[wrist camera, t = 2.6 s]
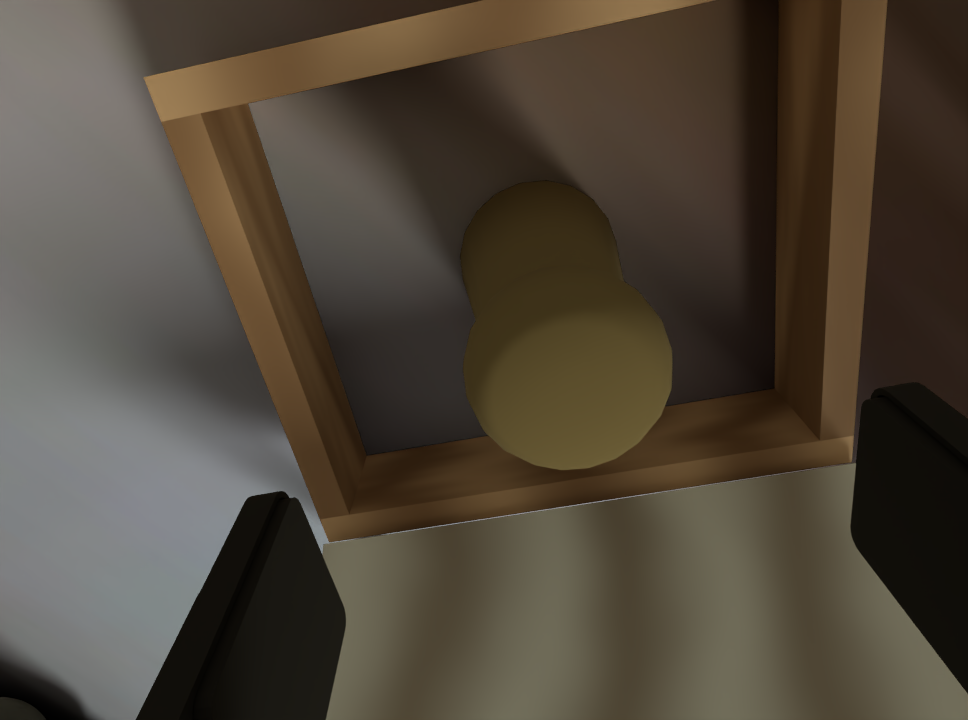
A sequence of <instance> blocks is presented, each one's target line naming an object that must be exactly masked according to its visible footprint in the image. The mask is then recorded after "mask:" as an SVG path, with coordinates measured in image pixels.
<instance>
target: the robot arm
mask: <svg viewBox="0 0 968 720" xmlns="http://www.w3.org/2000/svg"><path fill="white" fill-rule="evenodd" d="M850 530H851V536H852V539H853V542H854V544H855V546H856V548H857V549H858V551H859V552H860V553H861V555H862V556H863V557H864V559H865V560H866V561H867V563H868V564H869V565H870V567H871V568H872V569H873V571H874V572H875V573H876V574H877V576H878V577H879V578H880V580H881V581H882V582H883V584H884V585H885V586H886V588H887V589H888V590H889V591H890V593H891V594H892V595H893V597H894V598H895V599H896V601H897V602H898V603H899V605H900V606H901V607H902V609H903V610H904V611H905V612H906V614H907V615H908V616H909V618H910V619H911V620H912V622H913V623H914V624H915V626H916V627H917V628H918V629H919V631H920V632H921V633H922V635H923V636H924V637H925V639H926V640H927V641H928V643H929V644H930V645H931V647H932V648H933V649H934V650H935V652H936V653H937V654H938V656H939V657H940V658H941V660H942V661H943V662H944V664H945V665H946V666H947V667H948V669H949V670H950V671H951V673H952V674H953V675H954V677H955V678H956V679H957V681H958V682H959V683H960V685H961V686H962V687H963V688H964V690H965V691H966V692H967V694H968V419H967V418H966V417H964V416H963V415H962V414H960V413H959V412H958V411H956V410H955V409H954V408H952V407H951V406H950V405H948V404H947V403H946V402H945V401H943V400H942V399H941V398H939V397H938V396H937V395H935V394H934V393H933V392H931V391H930V390H929V389H927V388H926V387H925V386H923V385H921V384H919V383H914V382H912V383H907V384H901V385H895V386H889V387H883V388H878V389H876V390H874V392H873V393H872V395H871V399H868V400H865V401H864V402H863V404H862V407H861V416H860V427H859V438H858V448H857V459H856V470H855V481H854V491H853V502H852V513H851V524H850ZM345 628H346V614H345V609H344V605H343V603H342V601H341V598H340V596H339V593H338V591H337V589H336V586H335V584H334V582H333V579H332V577H331V575H330V572H329V570H328V567H327V565H326V563H325V560H324V558H323V556H322V553H321V551H320V548H319V546H318V544H317V541H316V539H315V537H314V534H313V532H312V529H311V527H310V525H309V522H308V520H307V518H306V515H305V513H304V511H303V508H302V506H301V504H300V502H299V500H298V499H297V498H289V496H288V495H287V494H286V493H285V492H283V491H279V492H273V493H267V494H261V495H255V496H251V497H249V498H247V500H246V501H245V503H244V505H243V507H242V509H241V511H240V513H239V515H238V517H237V519H236V521H235V523H234V525H233V527H232V529H231V531H230V533H229V535H228V537H227V539H226V541H225V543H224V545H223V547H222V549H221V551H220V553H219V555H218V557H217V559H216V561H215V563H214V565H213V567H212V569H211V571H210V573H209V575H208V577H207V579H206V581H205V583H204V585H203V587H202V589H201V591H200V593H199V594H198V596H197V598H196V600H195V602H194V604H193V606H192V608H191V610H190V612H189V614H188V616H187V618H186V620H185V622H184V624H183V626H182V628H181V630H180V632H179V634H178V636H177V638H176V640H175V642H174V644H173V646H172V648H171V650H170V652H169V654H168V656H167V658H166V660H165V662H164V664H163V666H162V668H161V670H160V672H159V674H158V676H157V678H156V680H155V682H154V684H153V686H152V688H151V690H150V692H149V694H148V696H147V698H146V700H145V702H144V704H143V706H142V708H141V710H140V712H139V714H138V716H137V718H136V720H326V717H327V712H328V708H329V703H330V698H331V694H332V689H333V684H334V680H335V675H336V671H337V666H338V661H339V657H340V652H341V647H342V643H343V638H344V634H345Z"/></svg>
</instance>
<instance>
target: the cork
mask: <svg viewBox="0 0 968 720" xmlns="http://www.w3.org/2000/svg"><path fill="white" fill-rule="evenodd" d="M460 260H461V268H462V277H463V282H464V285H465V288H466V291H467V294H468V297H469V301H470V304H471V307H472V310H473V313H474V317H475V320H476V321H475V323H474V325H473V326H472V328H471V329H470V334H469V338H468V342H467V347H466V351H465V356H464V362H463V373H464V381H465V389H466V396H467V399H468V401H469V403H470V405H471V407H472V409H473V411H474V413H475V415H476V417H477V419H478V421H479V423H480V425H481V427H482V429H483V430H484V432H485V433H486V434H487V435H488V436H490V437H491V438H492V439H493V440H494V441H495V442H496V443H497V444H498V445H499V446H500V447H501V448H502V449H503V450H505V451H507V452H509V453H511V454H513V455H515V456H517V457H519V458H521V459H523V460H525V461H527V462H529V463H531V464H533V465H536V466H541V467H547V468H552V469H558V470H571V469H584V468H591V467H594V466H597V465H600V464H602V463H605V462H608V461H611V460H614V459H616V458H618V457H619V456H621V455H622V454H624V453H625V452H627V451H628V450H629V449H631V448H632V447H634V446H635V445H637V444H638V443H639V442H640V441H641V440H642V438H643V437H644V436H645V435H646V434H647V432H648V431H649V430H650V429H651V428H652V426H653V425H654V424H655V423H656V421H657V420H658V419H659V418H660V417H661V414H662V412H663V409H664V407H665V404H666V402H667V399H668V397H669V394H670V392H671V389H672V363H673V360H672V349H671V346H670V343H669V340H668V337H667V334H666V331H665V328H664V325H663V322H662V320H661V319H660V318H659V316H658V315H657V313H656V312H655V311H654V310H653V308H652V307H651V306H650V305H649V304H648V302H647V301H646V300H645V299H644V298H643V296H642V295H641V294H640V293H639V292H638V290H637V289H635V288H634V287H632V286H630V285H628V284H627V283H625V282H624V280H623V275H622V270H621V265H620V260H619V255H618V250H617V245H616V240H615V237H614V235H613V232H612V229H611V226H610V223H609V220H608V218H607V217H606V215H605V214H604V213H603V212H602V211H601V209H600V208H599V207H598V206H597V204H596V203H595V202H594V201H593V199H591V198H590V197H588V196H586V195H585V194H583V193H582V192H580V191H578V190H577V189H575V188H573V187H572V186H569V185H564V184H560V183H555V182H551V181H547V180H545V181H535V182H525V183H519V184H517V185H515V186H512V187H510V188H508V189H506V190H503V191H501V192H499V193H497V194H495V195H494V196H493V197H492V198H491V199H490V200H489V201H488V202H487V203H485V204H484V205H483V206H482V207H481V208H480V209H479V210H478V211H477V212H476V214H475V216H474V217H473V219H472V221H471V223H470V224H469V226H468V228H467V230H466V231H465V234H464V239H463V244H462V249H461V254H460Z"/></svg>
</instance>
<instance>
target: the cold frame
mask: <svg viewBox="0 0 968 720" xmlns="http://www.w3.org/2000/svg"><path fill="white" fill-rule="evenodd" d="M711 1H716V0H482V1H477V2H473V3H469V4H464V5H460V6H455V7H451V8H447V9H442V10H438V11H433V12H429V13H425V14H420V15H416V16H411V17H407V18H403V19H398V20H394V21H389V22H385V23H381V24H376V25H372V26H367V27H363V28H359V29H354V30H350V31H345V32H341V33H337V34H332V35H328V36H323V37H319V38H315V39H310V40H306V41H301V42H297V43H293V44H288V45H284V46H279V47H275V48H271V49H266V50H262V51H257V52H253V53H249V54H244V55H240V56H235V57H231V58H227V59H222V60H218V61H213V62H209V63H205V64H200V65H196V66H191V67H187V68H183V69H178V70H174V71H169V72H165V73H161V74H156V75H152V76H147V77H144V80H145V82H146V85H147V87H148V90H149V92H150V95H151V97H152V100H153V102H154V105H155V107H156V110H157V112H158V115H159V117H160V120H161V122H162V125H163V127H164V130H165V132H166V135H167V137H168V140H169V142H170V145H171V147H172V150H173V152H174V155H175V157H176V160H177V162H178V165H179V167H180V170H181V172H182V175H183V177H184V180H185V182H186V185H187V187H188V190H189V192H190V195H191V197H192V200H193V202H194V205H195V207H196V210H197V213H198V215H199V218H200V220H201V223H202V225H203V228H204V230H205V233H206V235H207V238H208V240H209V243H210V245H211V248H212V250H213V253H214V255H215V258H216V260H217V263H218V265H219V268H220V270H221V273H222V275H223V278H224V280H225V283H226V285H227V288H228V290H229V293H230V295H231V298H232V300H233V303H234V305H235V308H236V310H237V313H238V315H239V318H240V320H241V323H242V325H243V328H244V330H245V333H246V335H247V338H248V340H249V343H250V345H251V348H252V350H253V353H254V355H255V358H256V360H257V363H258V365H259V368H260V370H261V373H262V375H263V378H264V380H265V383H266V385H267V388H268V390H269V393H270V395H271V398H272V400H273V403H274V405H275V408H276V410H277V413H278V415H279V418H280V420H281V423H282V425H283V428H284V430H285V433H286V435H287V438H288V440H289V443H290V445H291V448H292V450H293V453H294V455H295V458H296V460H297V463H298V465H299V468H300V470H301V473H302V475H303V478H304V480H305V483H306V485H307V488H308V490H309V493H310V495H311V498H312V500H313V503H314V506H315V508H316V511H317V513H318V516H319V518H320V521H321V523H322V526H323V528H324V531H325V533H326V536H327V538H328V541H329V542H334V541H341V540H347V539H354V538H361V537H367V536H374V535H380V534H387V533H393V532H400V531H406V530H413V529H419V528H426V527H432V526H439V525H445V524H452V523H458V522H465V521H471V520H478V519H485V518H491V517H498V516H504V515H511V514H517V513H524V512H530V511H537V510H543V509H550V508H556V507H563V506H569V505H576V504H582V503H589V502H595V501H602V500H609V499H615V498H622V497H628V496H635V495H641V494H648V493H654V492H661V491H667V490H674V489H680V488H687V487H693V486H700V485H706V484H713V483H720V482H726V481H733V480H739V479H746V478H752V477H759V476H765V475H772V474H778V473H785V472H791V471H798V470H804V469H811V468H817V467H824V466H830V465H837V464H844V463H850V462H852V452H853V439H854V427H855V414H856V401H857V388H858V375H859V362H860V349H861V336H862V323H863V310H864V297H865V284H866V271H867V258H868V245H869V233H870V220H871V207H872V194H873V181H874V168H875V155H876V142H877V129H878V116H879V103H880V90H881V77H882V64H883V52H884V39H885V26H886V13H887V0H779V27H778V123H777V218H776V314H775V389H769V390H763V391H757V392H751V393H745V394H739V395H732V396H726V397H720V398H714V399H708V400H702V401H696V402H690V403H684V404H678V405H672V406H666V407H664V409H663V412H662V414H661V417H660V418H659V419H658V420H657V421H656V423H655V424H654V425H653V426H652V428H651V429H650V430H649V431H648V432H647V434H646V435H645V436H644V437H643V438H642V440H641V441H640V442H639V443H638V444H637V445H635V446H634V447H632V448H631V449H629V450H628V451H627V452H625V453H624V454H622V455H621V456H619V457H618V458H616V459H614V460H611V461H608V462H605V463H602V464H600V465H597V466H594V467H591V468H584V469H571V470H558V469H552V468H547V467H541V466H536V465H533V464H531V463H529V462H527V461H525V460H523V459H521V458H519V457H517V456H515V455H513V454H511V453H509V452H507V451H505V450H503V449H502V448H501V447H500V446H499V445H498V444H497V443H496V442H495V441H494V440H493V439H492V438H491V437H490V436H484V437H478V438H472V439H466V440H460V441H454V442H448V443H441V444H435V445H429V446H423V447H417V448H411V449H405V450H399V451H393V452H387V453H381V454H375V455H369V456H367V455H366V452H365V449H364V446H363V443H362V440H361V437H360V434H359V431H358V429H357V426H356V423H355V420H354V417H353V414H352V411H351V408H350V405H349V402H348V399H347V396H346V393H345V390H344V387H343V384H342V381H341V378H340V375H339V372H338V369H337V366H336V363H335V360H334V357H333V355H332V352H331V349H330V346H329V343H328V340H327V337H326V334H325V331H324V328H323V325H322V322H321V319H320V316H319V313H318V310H317V307H316V304H315V301H314V298H313V295H312V292H311V289H310V286H309V283H308V280H307V278H306V275H305V272H304V269H303V266H302V263H301V260H300V257H299V254H298V251H297V248H296V245H295V242H294V239H293V236H292V233H291V230H290V227H289V224H288V221H287V218H286V215H285V212H284V209H283V206H282V203H281V201H280V198H279V195H278V192H277V189H276V186H275V183H274V180H273V177H272V174H271V171H270V168H269V165H268V162H267V159H266V156H265V153H264V150H263V147H262V144H261V141H260V138H259V135H258V132H257V129H256V126H255V124H254V121H253V118H252V115H251V112H250V109H249V106H248V103H252V102H257V101H261V100H266V99H270V98H275V97H279V96H284V95H288V94H293V93H297V92H302V91H307V90H311V89H316V88H320V87H325V86H329V85H334V84H338V83H343V82H348V81H352V80H357V79H361V78H366V77H370V76H375V75H379V74H384V73H388V72H393V71H398V70H402V69H407V68H411V67H416V66H420V65H425V64H429V63H434V62H438V61H443V60H448V59H452V58H457V57H461V56H466V55H470V54H475V53H479V52H484V51H489V50H493V49H498V48H502V47H507V46H511V45H516V44H520V43H525V42H529V41H534V40H539V39H543V38H548V37H552V36H557V35H561V34H566V33H570V32H575V31H579V30H584V29H589V28H593V27H598V26H602V25H607V24H611V23H616V22H620V21H625V20H629V19H634V18H639V17H643V16H648V15H652V14H657V13H661V12H666V11H670V10H675V9H680V8H684V7H689V6H693V5H698V4H702V3H707V2H711ZM855 470H856V463H853V464H846V465H839V466H833V467H826V468H820V469H813V470H807V471H800V472H794V473H787V474H781V475H774V476H768V477H761V478H755V479H748V480H741V481H735V482H728V483H722V484H715V485H709V486H702V487H696V488H689V489H683V490H676V491H670V492H663V493H656V494H650V495H643V496H637V497H630V498H624V499H617V500H611V501H604V502H598V503H591V504H585V505H578V506H572V507H565V508H558V509H552V510H545V511H539V512H532V513H526V514H519V515H513V516H506V517H500V518H493V519H487V520H480V521H473V522H467V523H460V524H454V525H447V526H441V527H434V528H428V529H421V530H415V531H408V532H402V533H395V534H389V535H382V536H375V537H369V538H362V539H356V540H349V541H343V542H336V543H330V544H323V558H324V560H325V563H326V565H327V567H328V570H329V572H330V575H331V577H332V579H333V582H334V584H335V586H336V589H337V591H338V593H339V596H340V598H341V601H342V603H343V605H344V609H345V614H346V628H345V634H344V638H343V643H342V647H341V652H340V657H339V661H338V666H337V671H336V675H335V680H334V684H333V689H332V694H331V698H330V703H329V708H328V712H327V717H326V720H968V694H967V692H966V691H965V690H964V688H963V687H962V686H961V685H960V683H959V682H958V681H957V679H956V678H955V677H954V675H953V674H952V673H951V671H950V670H949V669H948V667H947V666H946V665H945V664H944V662H943V661H942V660H941V658H940V657H939V656H938V654H937V653H936V652H935V650H934V649H933V648H932V647H931V645H930V644H929V643H928V641H927V640H926V639H925V637H924V636H923V635H922V633H921V632H920V631H919V629H918V628H917V627H916V626H915V624H914V623H913V622H912V620H911V619H910V618H909V616H908V615H907V614H906V612H905V611H904V610H903V609H902V607H901V606H900V605H899V603H898V602H897V601H896V599H895V598H894V597H893V595H892V594H891V593H890V591H889V590H888V589H887V588H886V586H885V585H884V584H883V582H882V581H881V580H880V578H879V577H878V576H877V574H876V573H875V572H874V571H873V569H872V568H871V567H870V565H869V564H868V563H867V561H866V560H865V559H864V557H863V556H862V555H861V553H860V552H859V551H858V549H857V548H856V546H855V544H854V542H853V539H852V536H851V530H850V524H851V513H852V502H853V491H854V481H855Z"/></svg>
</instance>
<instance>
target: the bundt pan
mask: <svg viewBox="0 0 968 720" xmlns="http://www.w3.org/2000/svg"><path fill="white" fill-rule="evenodd" d="M0 720H46V719H45V717H44V716H43V715H42V714H41V713H40V712H39V711H38V710H37V709H36V708H35V707H33V706H32V705H30V704H28V703H26V702H24V701H22V700H18V699H14V698H8V697H0Z"/></svg>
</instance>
